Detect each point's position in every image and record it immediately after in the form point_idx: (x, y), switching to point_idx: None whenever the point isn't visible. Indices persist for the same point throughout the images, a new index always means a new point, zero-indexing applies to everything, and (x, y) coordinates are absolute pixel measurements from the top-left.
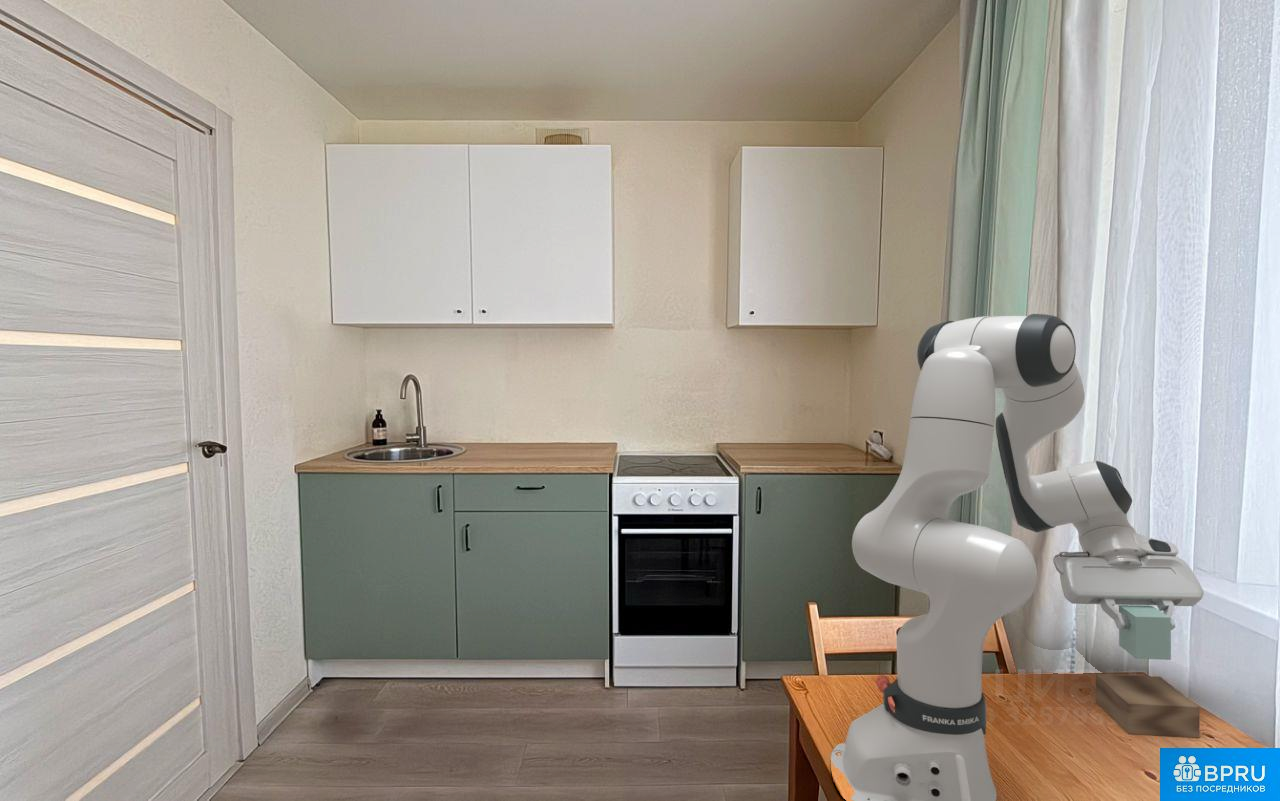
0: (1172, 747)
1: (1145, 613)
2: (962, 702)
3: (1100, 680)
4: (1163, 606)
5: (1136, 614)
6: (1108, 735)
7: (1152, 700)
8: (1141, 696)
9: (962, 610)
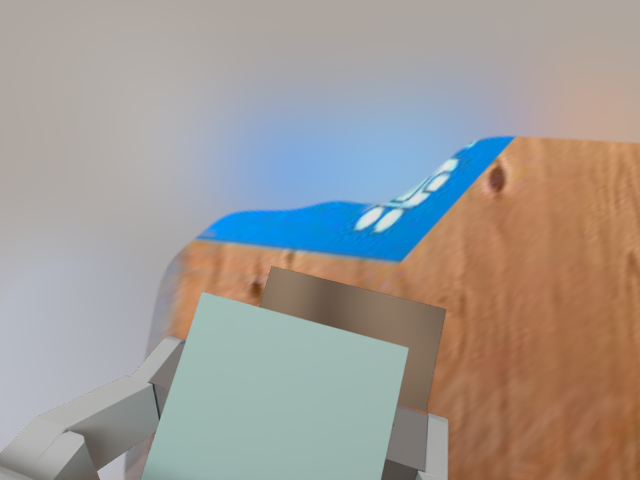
0: (372, 259)
1: (295, 389)
2: None
3: None
4: (88, 455)
5: (373, 383)
6: (481, 322)
7: (363, 314)
8: None
9: None
